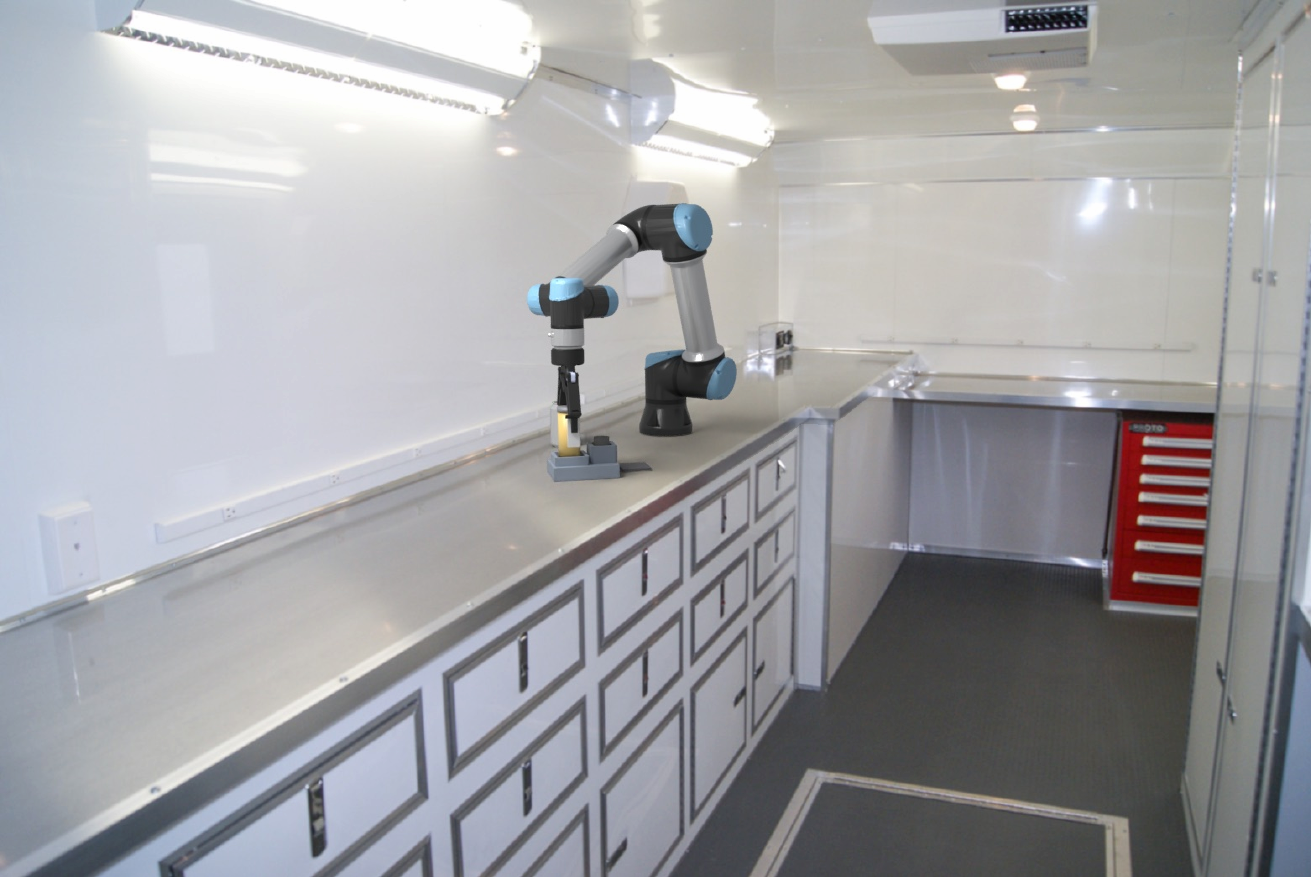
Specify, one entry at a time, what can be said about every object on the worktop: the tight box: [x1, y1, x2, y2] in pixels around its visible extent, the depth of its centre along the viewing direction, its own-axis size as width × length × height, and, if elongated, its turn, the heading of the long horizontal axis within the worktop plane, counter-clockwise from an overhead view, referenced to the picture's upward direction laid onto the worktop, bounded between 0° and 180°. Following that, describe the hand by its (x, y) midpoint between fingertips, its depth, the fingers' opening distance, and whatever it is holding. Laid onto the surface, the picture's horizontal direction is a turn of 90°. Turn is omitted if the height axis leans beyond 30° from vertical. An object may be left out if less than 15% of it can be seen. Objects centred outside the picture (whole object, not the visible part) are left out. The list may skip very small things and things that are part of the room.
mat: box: [617, 461, 653, 473], centre depth 246 cm, size 7×7×1 cm
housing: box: [546, 440, 621, 483], centre depth 238 cm, size 15×11×7 cm
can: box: [549, 400, 559, 449], centre depth 273 cm, size 8×8×12 cm
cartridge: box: [557, 405, 581, 457], centre depth 236 cm, size 5×5×13 cm
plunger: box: [593, 435, 610, 446], centre depth 239 cm, size 4×4×5 cm
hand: (569, 442), depth 237 cm, fingers open, 12 cm apart
